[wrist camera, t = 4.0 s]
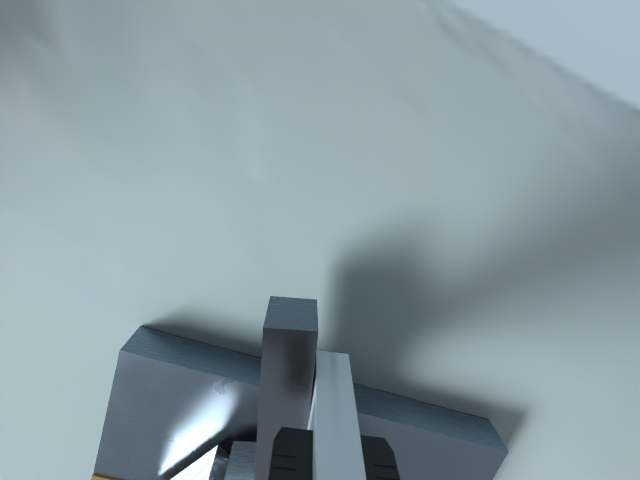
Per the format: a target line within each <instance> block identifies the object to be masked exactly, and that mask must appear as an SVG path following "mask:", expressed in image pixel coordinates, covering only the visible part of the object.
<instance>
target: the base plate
mask: <svg viewBox="0 0 640 480" xmlns="http://www.w3.org/2000/svg"><path fill="white" fill-rule="evenodd" d="M260 375H261V358H257V357H253V356H249V355H246V354H242V353H238V352H235V351H231V350H227V349H223V348H220V347H216V346H212V345H209V344H205V343H201V342H197V341H194V340H190V339H186V338H183V337H179V336H175V335H171V334H168V333H164V332H160V331H157V330H153V329H149V328H145V327H142V326H140V327H139V328H138V329H137V330H136V332H135V333H134V334H133V335H132V336H131V338H130V339H129V340H128V341H127V342H126V344H125V345H124V346H123V347H122V348H121V350H120V352H119V357H118V362H117V366H116V371H115V376H114V380H113V385H112V390H111V394H110V399H109V404H108V408H107V413H106V418H105V422H104V427H103V432H102V436H101V441H100V446H99V450H98V455H97V460H96V464H95V469H94V474H93V475H92V479H91V480H171V479H172V478H173V477H175V476H176V475H177V474H179V473H180V472H182V471H183V470H184V469H186V468H187V467H188V466H190V465H191V464H193V463H194V462H195V461H197V460H198V459H199V458H201V457H202V456H204V455H205V454H206V453H208V452H209V451H210V450H212V449H213V448H215V447H216V446H217V445H219V446H220V447H221V448H222V449H223V450H224V451H226V452H227V453H228V454H229V455H230V453H231V449H232V445H233V441H245V442H257V425H258V409H259V392H260ZM353 389H354V396H355V403H356V410H357V417H358V424H359V431H360V435H365V436H373V437H382V438H385V440H386V441H387V443H388V444H389V445H390V447H391V448H392V450H393V451H394V455H395V459H396V463H397V470H398V472H399V476H400V480H492V479H493V477H494V476H495V474H496V472H497V471H498V469H499V467H500V465H501V464H502V462H503V460H504V458H505V457H506V455H507V453H508V450H507V448H506V447H505V445H504V443H503V442H502V440H501V438H500V437H499V435H498V433H497V432H496V430H495V429H494V427H493V425H492V424H491V422H490V420H487V419H483V418H480V417H476V416H472V415H468V414H465V413H461V412H457V411H454V410H450V409H446V408H442V407H439V406H435V405H431V404H428V403H424V402H420V401H416V400H413V399H409V398H405V397H402V396H398V395H394V394H390V393H387V392H383V391H379V390H376V389H372V388H368V387H364V386H361V385H357V384H353Z"/></svg>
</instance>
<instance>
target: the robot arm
mask: <svg viewBox="0 0 640 480" xmlns="http://www.w3.org/2000/svg"><path fill="white" fill-rule="evenodd" d="M268 480H400V476H399V472H398V470H397V463H396V459H395V455H394V451H393V450H392V448H391V447H390V445H389V444H388V443H387V441H386V440H385V438H382V437H373V436H365V435H360V431H359V424H358V417H357V410H356V403H355V396H354V389H353V381H352V374H351V367H350V360H349V354H344V353H336V352H328V351H321V350H316V357H315V367H314V376H313V386H312V395H311V405H310V414H309V423H308V429H307V430H305V429H296V428H288V427H282V428H281V429H280V431H279V432H278V433H277V435H276V436H275V438H274V441H273V448H272V455H271V461H270V468H269V475H268Z"/></svg>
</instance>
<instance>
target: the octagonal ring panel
mask: <svg viewBox="0 0 640 480" xmlns="http://www.w3.org/2000/svg"><path fill="white" fill-rule="evenodd" d="M317 338H318V315H317V300H314V299H301V298H287V297H274V296H270V300H269V305H268V309H267V314H266V318H265V322H264V327H263V342H262V358H261V375H260V392H259V409H258V425H257V442H245V441H233V445H232V449H231V453H230V455H229V454H228V453H227V452H226V451H224V450H223V449H222V448H221V447H220V446H219V445H217V446H216V447H215V448H213V449H212V450H210V451H209V452H208V453H206V454H205V455H204V456H202V457H201V458H199V459H198V460H197V461H195V462H194V463H193V464H191V465H190V466H188V467H187V468H186V469H184V470H183V471H182V472H180V473H179V474H177V475H176V476H175V477H173V478H172V479H171V480H268V475H269V468H270V461H271V455H272V448H273V441H274V438H275V436H276V435H277V433H278V432H279V431H280V429H281V428H282V427H288V428H296V429H305V430H307V429H308V423H309V414H310V405H311V395H312V386H313V376H314V367H315V357H316V348H317Z"/></svg>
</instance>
